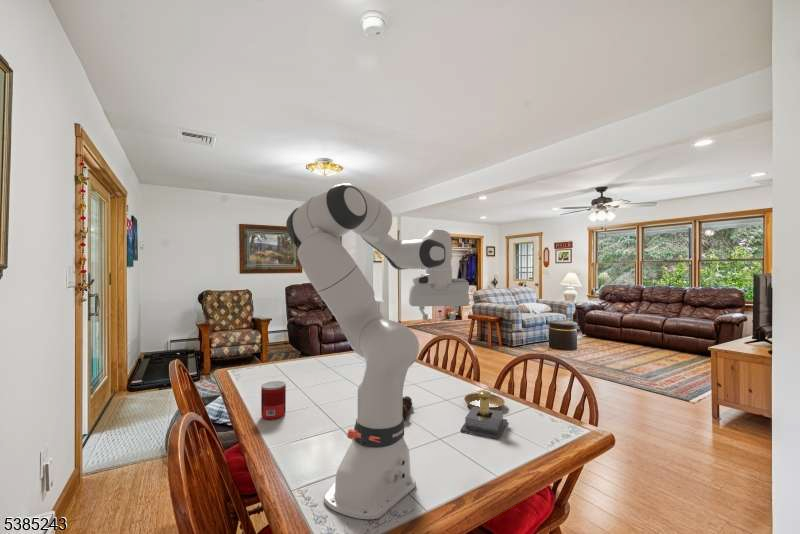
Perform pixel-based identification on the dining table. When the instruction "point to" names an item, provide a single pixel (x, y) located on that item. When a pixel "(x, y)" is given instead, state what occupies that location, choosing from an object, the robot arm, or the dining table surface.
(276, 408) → the canned food
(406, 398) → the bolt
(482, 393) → the pin
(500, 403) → the plant saucer
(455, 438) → the dining table surface
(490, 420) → the grey socket base
